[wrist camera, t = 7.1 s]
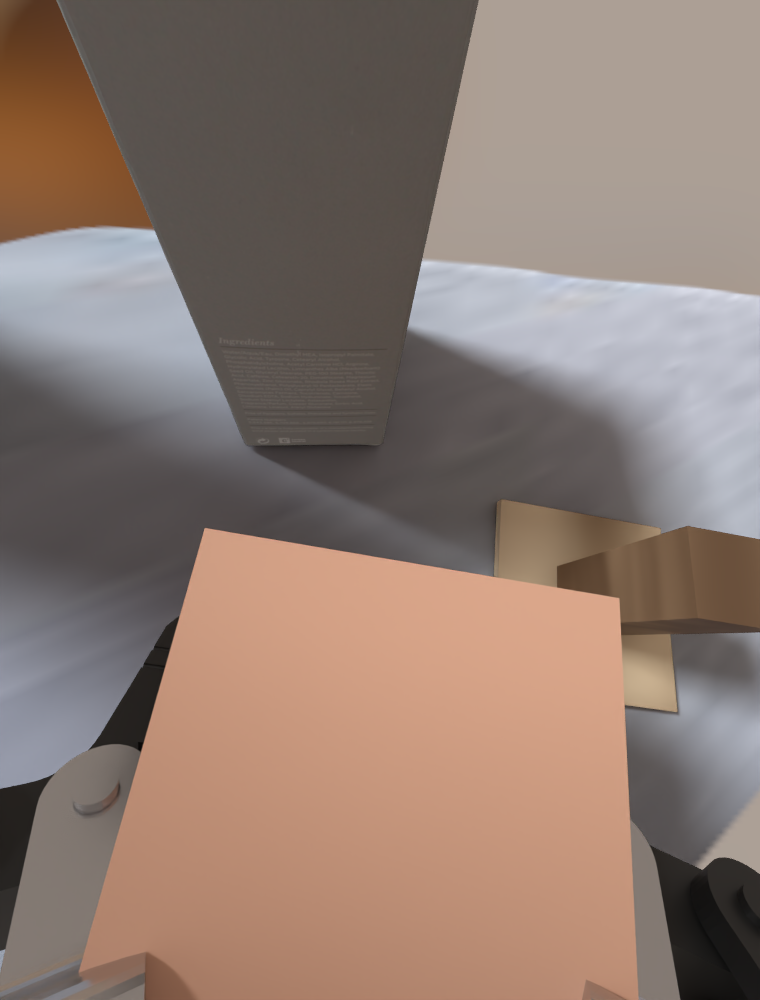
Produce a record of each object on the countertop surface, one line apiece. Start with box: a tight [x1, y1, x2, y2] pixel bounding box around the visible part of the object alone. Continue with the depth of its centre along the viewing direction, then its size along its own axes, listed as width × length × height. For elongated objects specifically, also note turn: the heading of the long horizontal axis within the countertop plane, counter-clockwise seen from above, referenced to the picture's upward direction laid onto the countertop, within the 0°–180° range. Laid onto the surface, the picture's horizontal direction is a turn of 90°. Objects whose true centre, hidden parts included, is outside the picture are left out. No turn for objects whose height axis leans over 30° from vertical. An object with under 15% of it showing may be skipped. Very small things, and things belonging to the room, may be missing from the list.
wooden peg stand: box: [494, 499, 760, 712], centre depth 16 cm, size 8×8×8 cm
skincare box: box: [57, 0, 478, 446], centre depth 13 cm, size 8×7×16 cm
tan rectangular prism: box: [79, 528, 639, 1000], centre depth 9 cm, size 6×6×10 cm
